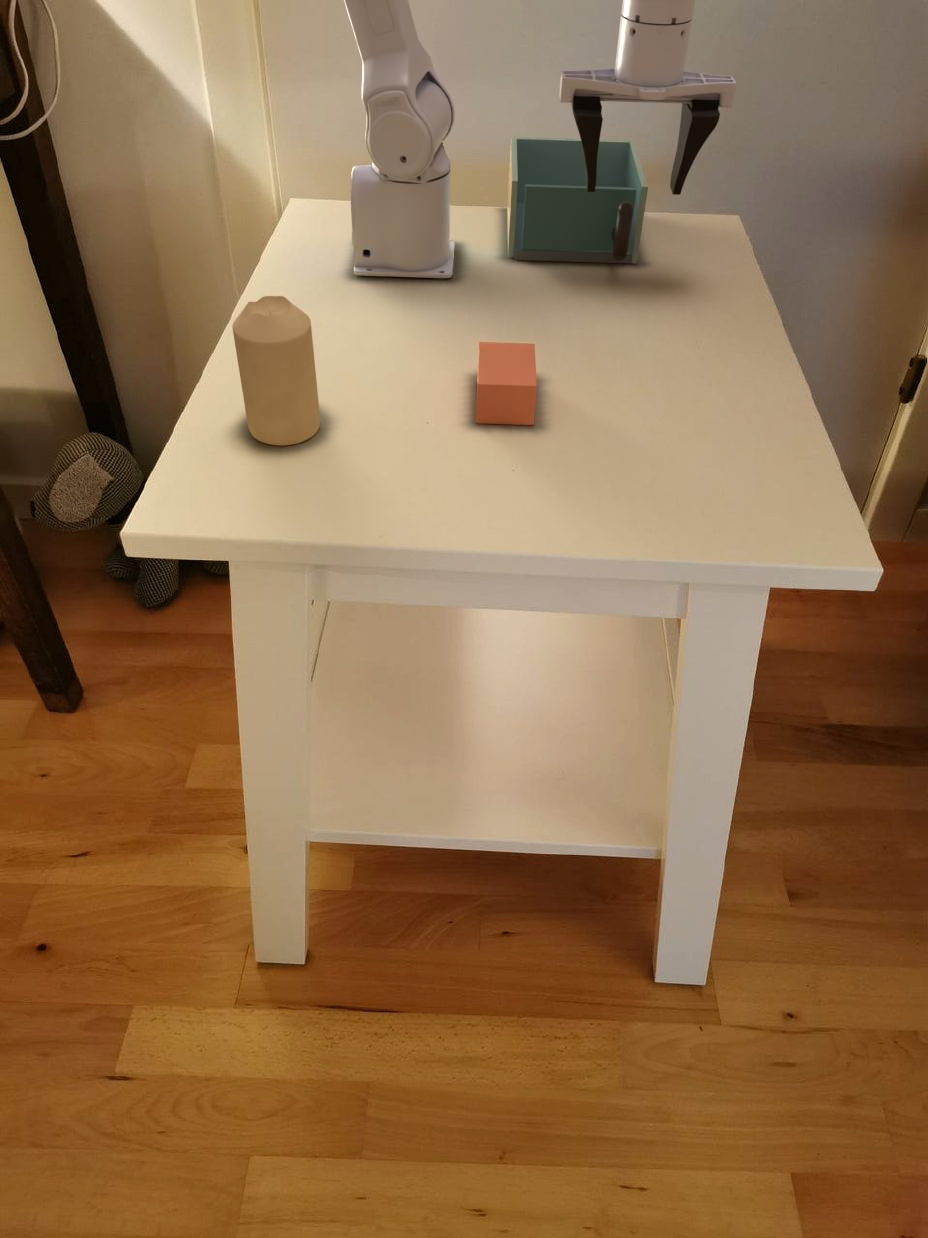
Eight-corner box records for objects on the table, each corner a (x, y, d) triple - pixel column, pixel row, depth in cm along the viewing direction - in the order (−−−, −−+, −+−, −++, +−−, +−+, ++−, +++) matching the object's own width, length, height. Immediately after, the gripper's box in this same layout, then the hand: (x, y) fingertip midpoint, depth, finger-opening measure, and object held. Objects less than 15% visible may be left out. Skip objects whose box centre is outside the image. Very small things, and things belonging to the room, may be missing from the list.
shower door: (522, 270, 92) (526, 202, 88) (521, 246, 96) (525, 179, 92) (632, 273, 92) (642, 205, 88) (627, 249, 96) (636, 182, 92)
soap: (476, 423, 76) (477, 383, 73) (477, 380, 80) (478, 341, 78) (533, 425, 76) (536, 385, 73) (531, 381, 80) (534, 343, 78)
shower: (507, 259, 97) (511, 182, 92) (507, 209, 106) (510, 136, 101) (636, 263, 97) (648, 186, 92) (625, 212, 106) (634, 139, 101)
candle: (307, 450, 73) (294, 327, 66) (237, 441, 73) (217, 317, 66) (329, 411, 76) (319, 290, 69) (263, 402, 77) (245, 282, 70)
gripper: (569, 26, 75) (554, 203, 85) (756, 31, 75) (720, 208, 85) (564, 4, 80) (551, 174, 90) (739, 9, 80) (707, 178, 90)
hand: (632, 189), depth 88 cm, fingers open, 7 cm apart
